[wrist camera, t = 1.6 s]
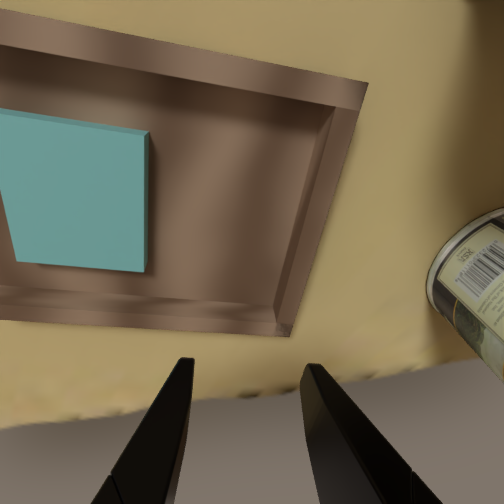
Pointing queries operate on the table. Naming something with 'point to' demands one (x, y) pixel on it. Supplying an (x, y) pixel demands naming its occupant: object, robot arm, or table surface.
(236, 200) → the brown flat tray
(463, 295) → the coffee can
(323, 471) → the robot arm
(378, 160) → the table surface
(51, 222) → the cover plate
